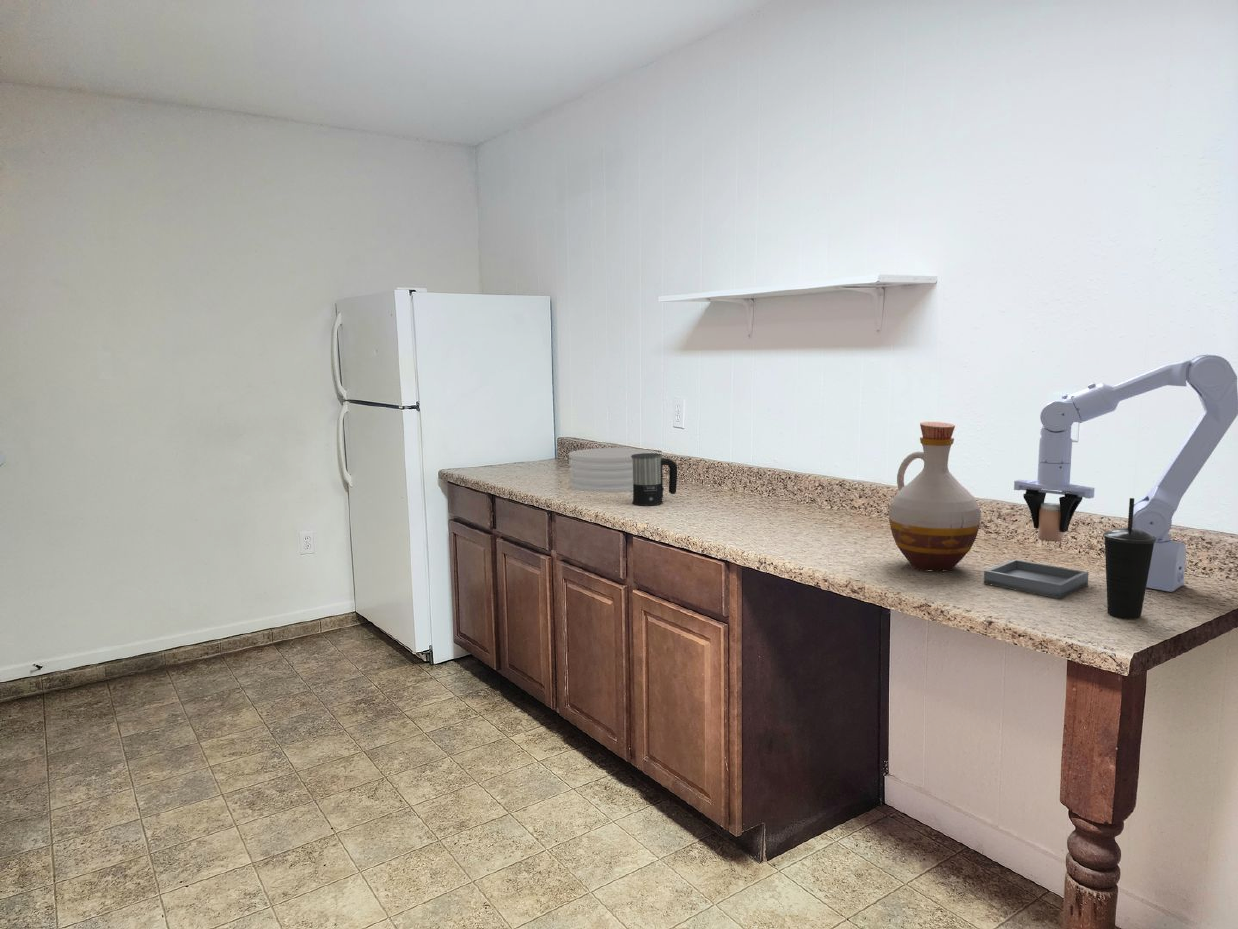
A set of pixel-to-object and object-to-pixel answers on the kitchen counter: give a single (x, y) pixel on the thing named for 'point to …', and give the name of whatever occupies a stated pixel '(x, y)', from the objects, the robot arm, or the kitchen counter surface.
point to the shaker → (1049, 522)
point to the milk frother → (651, 478)
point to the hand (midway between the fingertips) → (1050, 529)
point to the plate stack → (602, 469)
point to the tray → (1036, 578)
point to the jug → (933, 506)
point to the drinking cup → (1127, 568)
